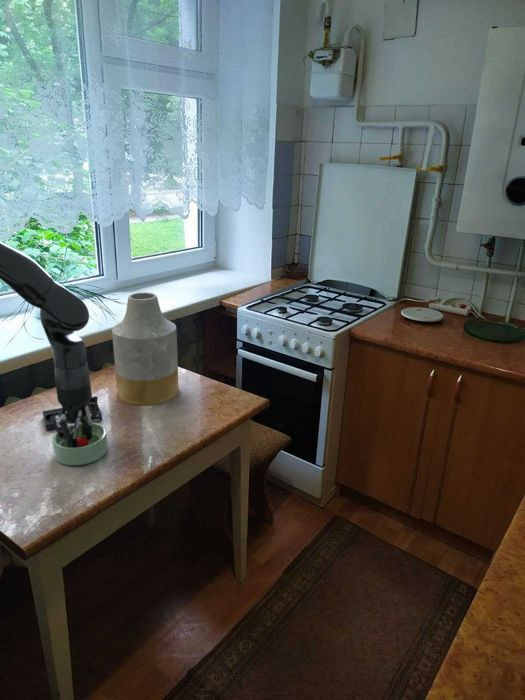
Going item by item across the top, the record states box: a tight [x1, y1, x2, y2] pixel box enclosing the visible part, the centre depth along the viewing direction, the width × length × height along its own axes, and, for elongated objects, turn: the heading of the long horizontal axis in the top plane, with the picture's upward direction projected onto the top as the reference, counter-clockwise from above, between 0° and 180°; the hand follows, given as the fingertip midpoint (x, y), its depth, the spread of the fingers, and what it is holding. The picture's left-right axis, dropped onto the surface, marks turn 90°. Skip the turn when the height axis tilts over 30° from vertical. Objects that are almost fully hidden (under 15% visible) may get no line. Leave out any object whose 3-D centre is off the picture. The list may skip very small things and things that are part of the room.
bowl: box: [51, 422, 109, 466], centre depth 120 cm, size 12×12×5 cm
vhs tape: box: [42, 403, 103, 432], centre depth 135 cm, size 14×8×2 cm, turn 117°
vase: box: [111, 292, 180, 407], centre depth 147 cm, size 18×18×30 cm
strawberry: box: [77, 435, 89, 447], centre depth 120 cm, size 4×4×4 cm
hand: (80, 444), depth 120 cm, fingers open, 4 cm apart
